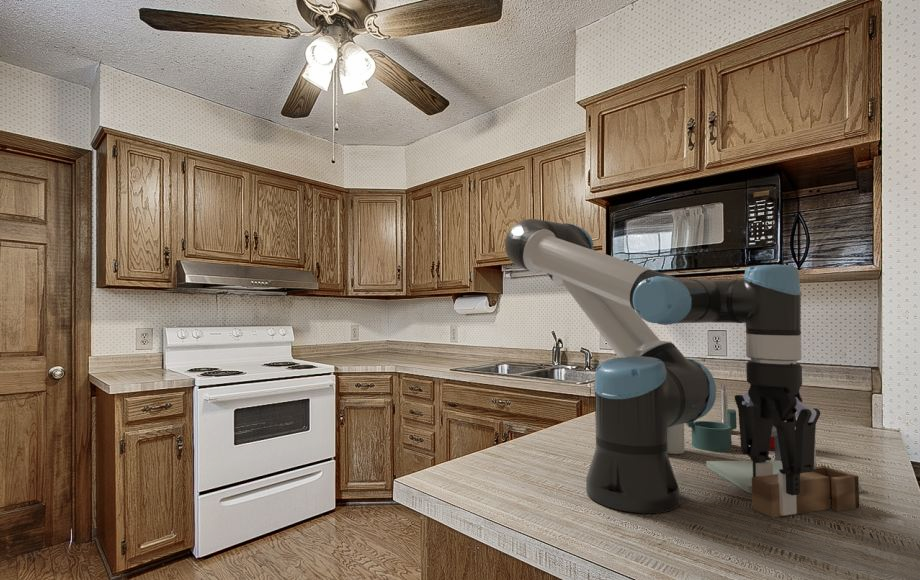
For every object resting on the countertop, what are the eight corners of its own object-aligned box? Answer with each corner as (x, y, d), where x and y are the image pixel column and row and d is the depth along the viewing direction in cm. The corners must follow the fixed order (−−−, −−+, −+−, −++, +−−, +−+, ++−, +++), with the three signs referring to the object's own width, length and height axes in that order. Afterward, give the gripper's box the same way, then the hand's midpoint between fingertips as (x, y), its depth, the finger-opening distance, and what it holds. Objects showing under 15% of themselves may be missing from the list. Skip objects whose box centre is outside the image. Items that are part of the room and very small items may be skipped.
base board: (748, 492, 84) (748, 485, 84) (706, 466, 98) (706, 461, 98) (861, 492, 84) (861, 485, 84) (803, 466, 98) (803, 460, 98)
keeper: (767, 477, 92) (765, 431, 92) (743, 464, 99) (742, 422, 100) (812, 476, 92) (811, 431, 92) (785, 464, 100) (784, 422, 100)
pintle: (808, 476, 89) (807, 440, 89) (800, 472, 91) (799, 437, 91) (819, 476, 89) (817, 439, 89) (811, 472, 91) (809, 437, 91)
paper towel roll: (671, 446, 113) (669, 355, 114) (690, 453, 107) (688, 357, 108) (645, 449, 111) (644, 356, 112) (664, 456, 105) (662, 358, 106)
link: (778, 520, 73) (777, 487, 73) (747, 506, 78) (746, 474, 79) (859, 507, 77) (858, 476, 78) (824, 495, 83) (823, 465, 83)
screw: (715, 428, 130) (735, 431, 127) (713, 432, 125) (735, 435, 123) (713, 380, 130) (734, 381, 128) (712, 382, 126) (733, 384, 124)
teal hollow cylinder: (740, 448, 111) (739, 409, 112) (716, 454, 107) (715, 413, 107) (703, 439, 119) (702, 403, 120) (680, 444, 114) (679, 407, 115)
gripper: (843, 366, 70) (847, 528, 70) (748, 355, 86) (750, 487, 85) (804, 367, 68) (807, 534, 68) (714, 356, 84) (716, 491, 83)
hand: (775, 508), depth 76 cm, fingers closed on link, 3 cm apart
